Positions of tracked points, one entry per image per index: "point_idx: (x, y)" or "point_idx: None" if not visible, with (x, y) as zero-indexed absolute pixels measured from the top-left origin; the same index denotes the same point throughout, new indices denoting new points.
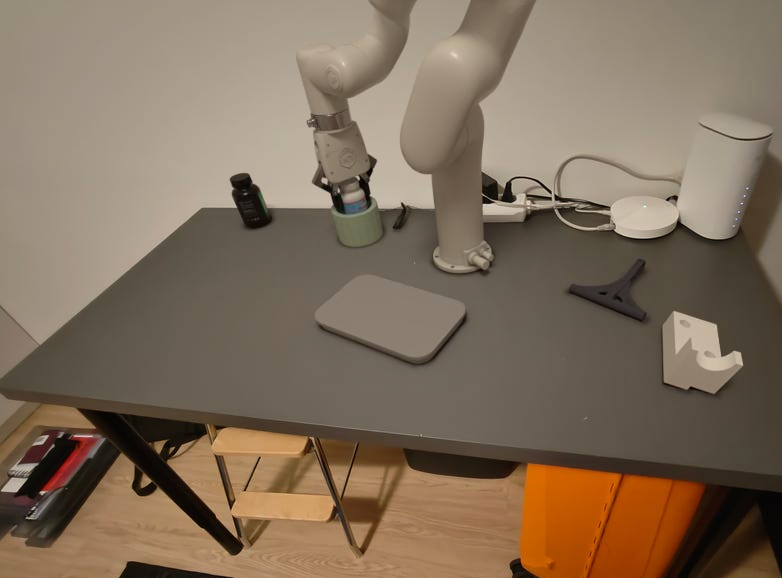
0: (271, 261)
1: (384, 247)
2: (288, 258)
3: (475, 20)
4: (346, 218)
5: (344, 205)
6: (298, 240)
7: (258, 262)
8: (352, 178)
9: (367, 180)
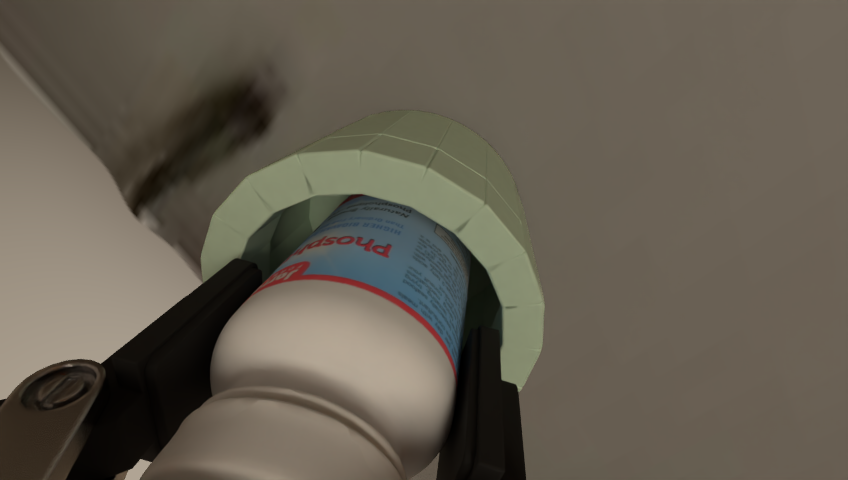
0: (768, 411)
1: (429, 6)
2: (723, 370)
3: None
4: (528, 256)
5: (456, 353)
6: (578, 414)
7: (789, 444)
8: None
9: (69, 386)
